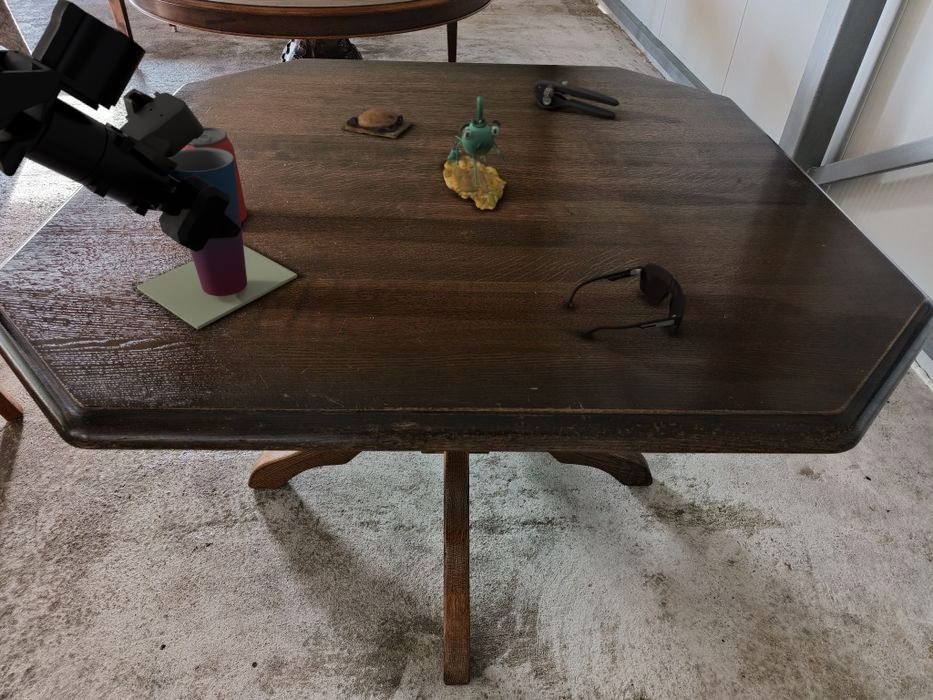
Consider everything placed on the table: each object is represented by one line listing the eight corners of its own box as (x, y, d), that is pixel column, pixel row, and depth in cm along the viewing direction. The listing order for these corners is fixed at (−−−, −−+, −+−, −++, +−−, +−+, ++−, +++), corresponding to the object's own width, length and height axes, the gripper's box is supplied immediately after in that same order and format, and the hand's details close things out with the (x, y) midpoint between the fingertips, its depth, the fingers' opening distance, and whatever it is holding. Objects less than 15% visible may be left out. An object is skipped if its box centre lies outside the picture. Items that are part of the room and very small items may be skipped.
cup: (235, 264, 77) (211, 143, 68) (267, 285, 73) (246, 160, 64) (182, 284, 73) (150, 157, 64) (213, 307, 69) (184, 177, 60)
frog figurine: (488, 159, 107) (498, 72, 96) (517, 220, 95) (532, 128, 84) (433, 162, 105) (437, 73, 94) (455, 224, 93) (463, 130, 82)
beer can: (202, 235, 84) (180, 148, 76) (194, 213, 88) (172, 129, 81) (252, 225, 86) (235, 140, 79) (242, 205, 91) (225, 122, 83)
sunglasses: (691, 339, 71) (698, 303, 67) (591, 360, 69) (593, 325, 66) (651, 286, 79) (656, 253, 75) (560, 305, 77) (561, 271, 74)
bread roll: (413, 125, 118) (413, 105, 116) (394, 140, 112) (393, 120, 109) (363, 115, 120) (362, 96, 118) (341, 130, 114) (339, 109, 112)
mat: (197, 330, 68) (196, 327, 68) (137, 288, 74) (136, 286, 74) (297, 277, 77) (297, 274, 77) (236, 243, 83) (236, 241, 82)
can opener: (526, 109, 127) (529, 80, 123) (536, 99, 132) (539, 71, 128) (612, 125, 122) (618, 95, 118) (619, 114, 127) (625, 85, 123)
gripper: (185, 99, 51) (311, 186, 64) (84, 49, 60) (213, 135, 74) (118, 217, 51) (257, 280, 65) (28, 150, 60) (166, 217, 74)
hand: (222, 222), depth 69 cm, fingers closed on cup, 6 cm apart
